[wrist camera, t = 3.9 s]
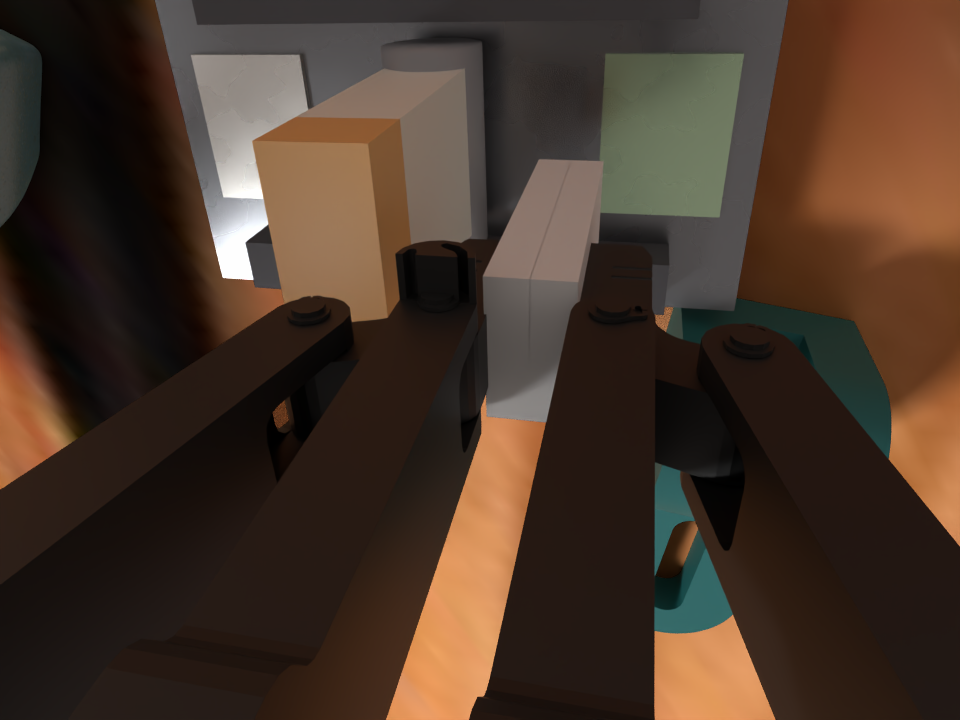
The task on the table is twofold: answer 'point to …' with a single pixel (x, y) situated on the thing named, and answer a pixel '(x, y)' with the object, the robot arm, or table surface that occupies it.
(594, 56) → the breaker panel
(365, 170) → the breaker lever
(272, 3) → the dark grey rectangular piece
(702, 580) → the bracket
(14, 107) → the flower pot
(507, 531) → the table surface
